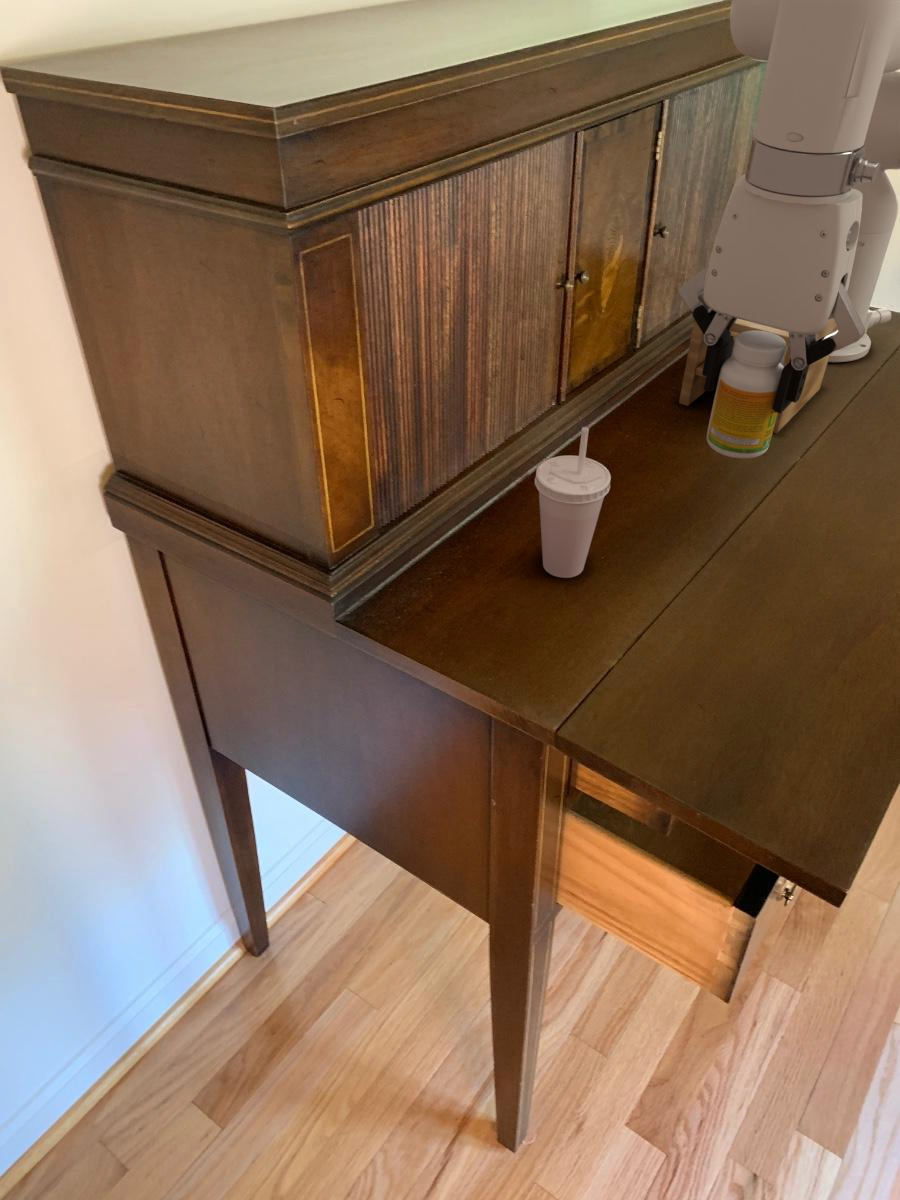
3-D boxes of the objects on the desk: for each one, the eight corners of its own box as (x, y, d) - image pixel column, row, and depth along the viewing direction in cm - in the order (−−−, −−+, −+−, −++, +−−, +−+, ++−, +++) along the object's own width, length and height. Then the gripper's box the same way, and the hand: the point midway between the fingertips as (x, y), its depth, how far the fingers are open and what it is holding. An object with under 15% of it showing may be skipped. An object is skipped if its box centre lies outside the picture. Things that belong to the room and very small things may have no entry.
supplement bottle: (770, 463, 78) (799, 357, 72) (706, 457, 79) (729, 352, 73) (765, 431, 82) (792, 328, 76) (704, 426, 83) (725, 323, 77)
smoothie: (595, 591, 80) (615, 451, 72) (523, 581, 81) (534, 443, 73) (601, 549, 85) (620, 413, 76) (532, 540, 86) (544, 405, 77)
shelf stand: (727, 362, 117) (745, 276, 110) (819, 389, 111) (845, 300, 104) (678, 403, 108) (695, 312, 101) (776, 433, 103) (801, 340, 96)
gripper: (939, 176, 64) (864, 408, 76) (712, 137, 72) (675, 353, 84) (908, 204, 60) (833, 446, 72) (669, 159, 68) (636, 384, 79)
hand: (748, 393), depth 78 cm, fingers closed on supplement bottle, 5 cm apart
